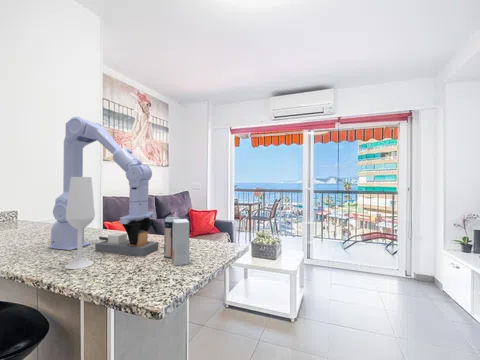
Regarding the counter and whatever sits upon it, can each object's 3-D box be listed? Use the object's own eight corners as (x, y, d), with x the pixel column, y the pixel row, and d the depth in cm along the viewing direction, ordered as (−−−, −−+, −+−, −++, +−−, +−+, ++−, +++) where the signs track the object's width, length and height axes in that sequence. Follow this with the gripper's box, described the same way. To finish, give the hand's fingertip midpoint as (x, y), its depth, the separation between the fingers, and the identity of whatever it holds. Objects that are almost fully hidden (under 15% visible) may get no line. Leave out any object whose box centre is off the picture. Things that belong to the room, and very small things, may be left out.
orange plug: (128, 248, 78) (129, 231, 78) (137, 245, 82) (137, 228, 82) (139, 249, 77) (140, 232, 77) (147, 246, 81) (147, 229, 81)
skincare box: (171, 259, 72) (172, 219, 72) (186, 257, 74) (186, 218, 74) (173, 266, 67) (174, 222, 67) (189, 264, 68) (190, 221, 68)
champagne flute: (89, 259, 71) (91, 177, 71) (96, 264, 67) (98, 177, 67) (61, 264, 66) (63, 176, 67) (67, 270, 62) (69, 176, 62)
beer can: (175, 259, 73) (176, 218, 73) (160, 257, 74) (161, 218, 74) (182, 254, 77) (183, 216, 77) (168, 253, 78) (169, 216, 78)
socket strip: (90, 250, 79) (90, 235, 79) (109, 244, 87) (109, 230, 87) (143, 256, 74) (143, 240, 74) (158, 249, 82) (158, 234, 82)
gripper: (134, 203, 72) (133, 249, 72) (162, 200, 86) (161, 238, 86) (114, 202, 73) (113, 247, 73) (144, 199, 87) (143, 237, 87)
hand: (138, 242), depth 80 cm, fingers closed on orange plug, 4 cm apart
